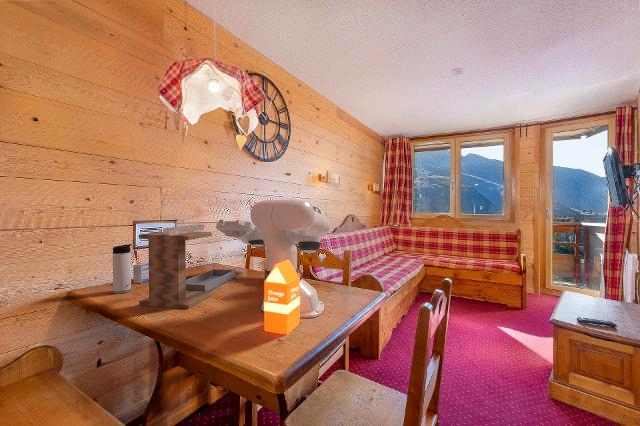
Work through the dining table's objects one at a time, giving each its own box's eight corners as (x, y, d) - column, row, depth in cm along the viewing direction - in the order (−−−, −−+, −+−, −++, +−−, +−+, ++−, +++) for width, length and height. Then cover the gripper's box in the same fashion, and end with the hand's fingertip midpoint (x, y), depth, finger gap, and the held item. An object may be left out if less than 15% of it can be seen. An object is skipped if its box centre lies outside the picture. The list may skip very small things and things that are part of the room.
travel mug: (132, 292, 118) (131, 244, 117) (112, 294, 114) (112, 246, 114) (132, 288, 123) (131, 243, 122) (113, 290, 119) (112, 244, 119)
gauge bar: (203, 229, 123) (203, 224, 123) (169, 234, 101) (169, 228, 101) (198, 229, 123) (198, 224, 123) (163, 234, 102) (163, 228, 102)
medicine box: (141, 283, 131) (141, 265, 130) (133, 283, 131) (133, 264, 131) (154, 279, 138) (154, 261, 138) (146, 278, 139) (146, 261, 139)
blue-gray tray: (235, 277, 143) (235, 270, 143) (205, 294, 115) (205, 285, 115) (213, 276, 145) (213, 268, 145) (177, 292, 118) (177, 283, 117)
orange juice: (300, 322, 88) (300, 259, 87) (287, 335, 80) (287, 265, 79) (278, 319, 90) (278, 258, 90) (263, 330, 82) (263, 263, 82)
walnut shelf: (212, 295, 114) (211, 232, 113) (188, 308, 99) (188, 235, 98) (168, 292, 117) (167, 231, 116) (139, 305, 102) (138, 234, 102)
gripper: (257, 236, 148) (246, 227, 136) (222, 235, 153) (209, 226, 140) (259, 225, 151) (249, 215, 139) (225, 225, 155) (212, 215, 143)
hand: (228, 221), depth 139 cm, fingers open, 8 cm apart
